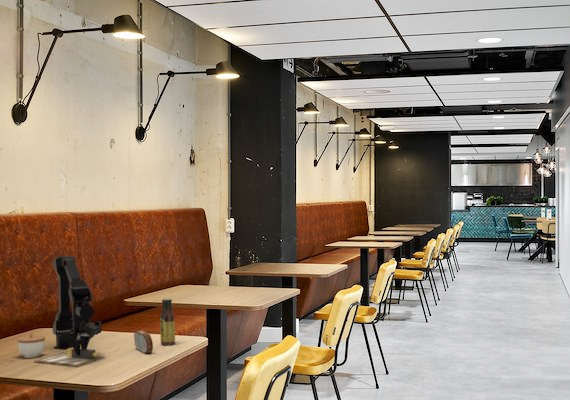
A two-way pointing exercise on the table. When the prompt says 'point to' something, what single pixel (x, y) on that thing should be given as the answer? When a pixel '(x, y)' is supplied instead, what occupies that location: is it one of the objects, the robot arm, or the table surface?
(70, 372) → the table surface
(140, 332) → the tin
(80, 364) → the writing board
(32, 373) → the table surface
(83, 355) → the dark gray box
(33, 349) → the lidded jar
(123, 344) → the table surface
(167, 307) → the sauce bottle
